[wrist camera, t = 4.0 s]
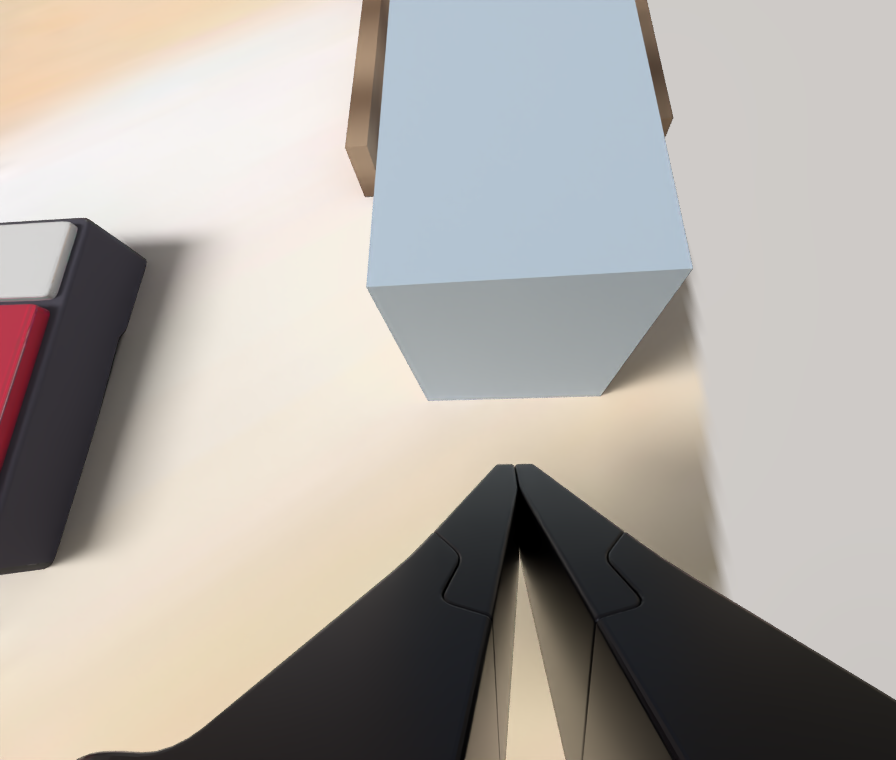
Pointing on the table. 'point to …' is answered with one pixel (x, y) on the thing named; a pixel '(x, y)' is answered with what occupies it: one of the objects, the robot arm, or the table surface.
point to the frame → (370, 86)
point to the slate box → (521, 196)
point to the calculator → (54, 370)
